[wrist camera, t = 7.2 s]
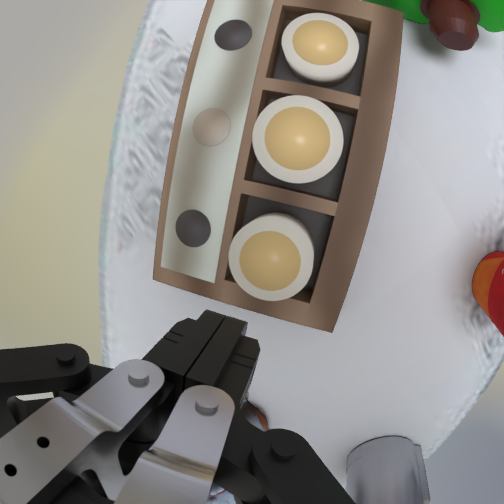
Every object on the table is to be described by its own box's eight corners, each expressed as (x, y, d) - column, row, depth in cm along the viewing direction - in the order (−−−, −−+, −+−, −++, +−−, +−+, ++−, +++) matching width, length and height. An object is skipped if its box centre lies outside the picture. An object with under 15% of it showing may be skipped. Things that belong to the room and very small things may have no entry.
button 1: (358, 37, 18) (362, 20, 15) (349, 93, 20) (353, 82, 17) (292, 24, 19) (288, 7, 16) (281, 79, 21) (274, 67, 18)
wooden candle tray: (396, 27, 18) (404, 11, 15) (331, 316, 26) (332, 334, 23) (222, 1, 20) (211, -15, 17) (168, 269, 28) (151, 280, 25)
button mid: (347, 115, 19) (351, 106, 16) (330, 190, 20) (332, 193, 17) (270, 99, 19) (261, 88, 16) (254, 172, 21) (243, 172, 18)
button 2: (322, 223, 21) (323, 231, 18) (303, 293, 23) (300, 311, 20) (248, 204, 22) (236, 209, 19) (234, 274, 24) (221, 288, 21)
